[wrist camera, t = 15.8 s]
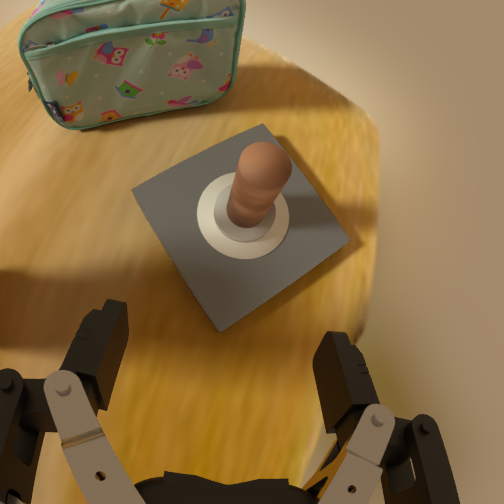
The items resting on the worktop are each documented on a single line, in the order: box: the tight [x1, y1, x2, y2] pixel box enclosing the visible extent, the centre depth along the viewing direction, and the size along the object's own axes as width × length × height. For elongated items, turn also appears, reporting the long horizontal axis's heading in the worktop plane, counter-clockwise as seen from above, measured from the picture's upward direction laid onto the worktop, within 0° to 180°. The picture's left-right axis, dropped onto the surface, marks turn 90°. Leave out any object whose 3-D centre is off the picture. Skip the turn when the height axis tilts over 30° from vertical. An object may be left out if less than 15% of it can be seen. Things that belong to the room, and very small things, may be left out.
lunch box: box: [18, 0, 246, 130], centre depth 27 cm, size 27×10×21 cm, turn 104°
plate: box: [132, 124, 350, 333], centre depth 34 cm, size 18×18×3 cm
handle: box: [214, 142, 292, 243], centre depth 27 cm, size 6×6×11 cm
